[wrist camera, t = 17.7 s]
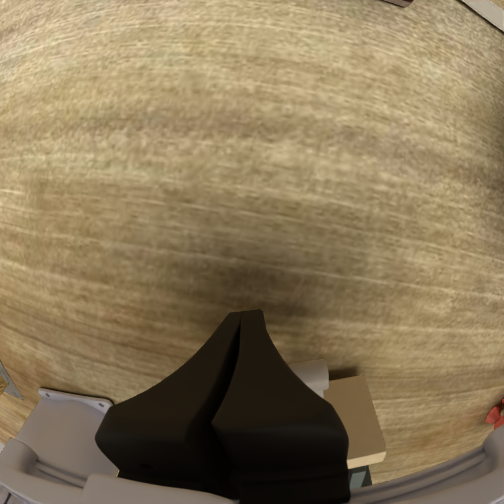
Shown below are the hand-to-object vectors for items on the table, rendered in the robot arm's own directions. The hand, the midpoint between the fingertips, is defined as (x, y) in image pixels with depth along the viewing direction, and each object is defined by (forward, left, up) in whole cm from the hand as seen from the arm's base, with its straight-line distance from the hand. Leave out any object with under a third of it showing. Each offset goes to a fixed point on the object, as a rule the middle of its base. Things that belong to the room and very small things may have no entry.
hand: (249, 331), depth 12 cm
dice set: (-32, -8, -4) cm, 33 cm away
